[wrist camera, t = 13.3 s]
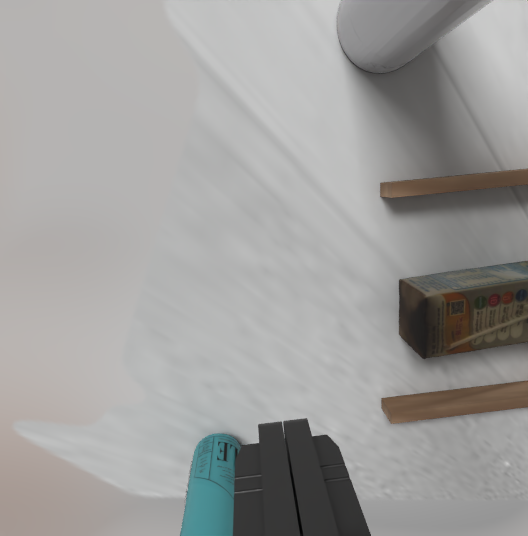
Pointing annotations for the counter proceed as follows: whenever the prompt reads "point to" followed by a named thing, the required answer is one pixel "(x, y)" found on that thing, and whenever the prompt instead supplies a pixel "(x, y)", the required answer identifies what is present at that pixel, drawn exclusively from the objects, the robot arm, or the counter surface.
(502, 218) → the counter surface
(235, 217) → the counter surface
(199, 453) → the beverage bottle
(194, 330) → the counter surface
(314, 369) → the counter surface
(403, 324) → the beverage carton
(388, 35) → the robot arm
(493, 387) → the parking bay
